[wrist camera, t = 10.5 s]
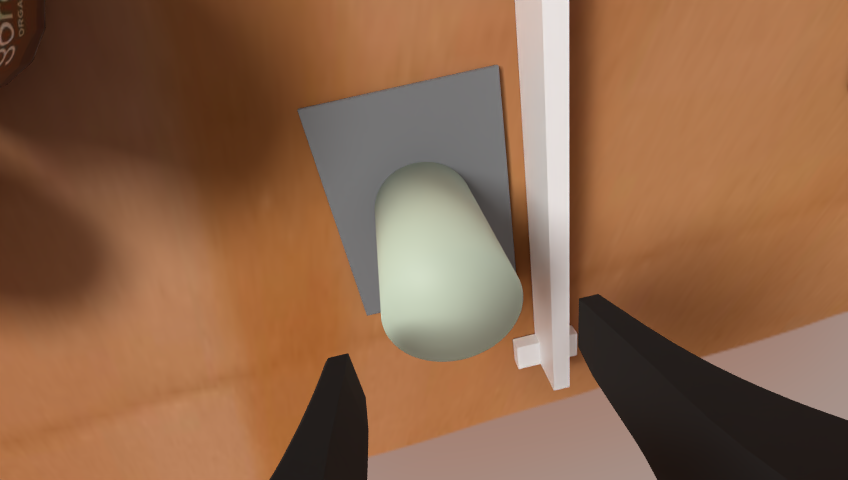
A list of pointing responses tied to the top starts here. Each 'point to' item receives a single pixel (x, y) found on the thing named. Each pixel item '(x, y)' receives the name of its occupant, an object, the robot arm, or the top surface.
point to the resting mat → (409, 155)
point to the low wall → (546, 182)
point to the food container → (19, 35)
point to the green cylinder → (441, 267)
